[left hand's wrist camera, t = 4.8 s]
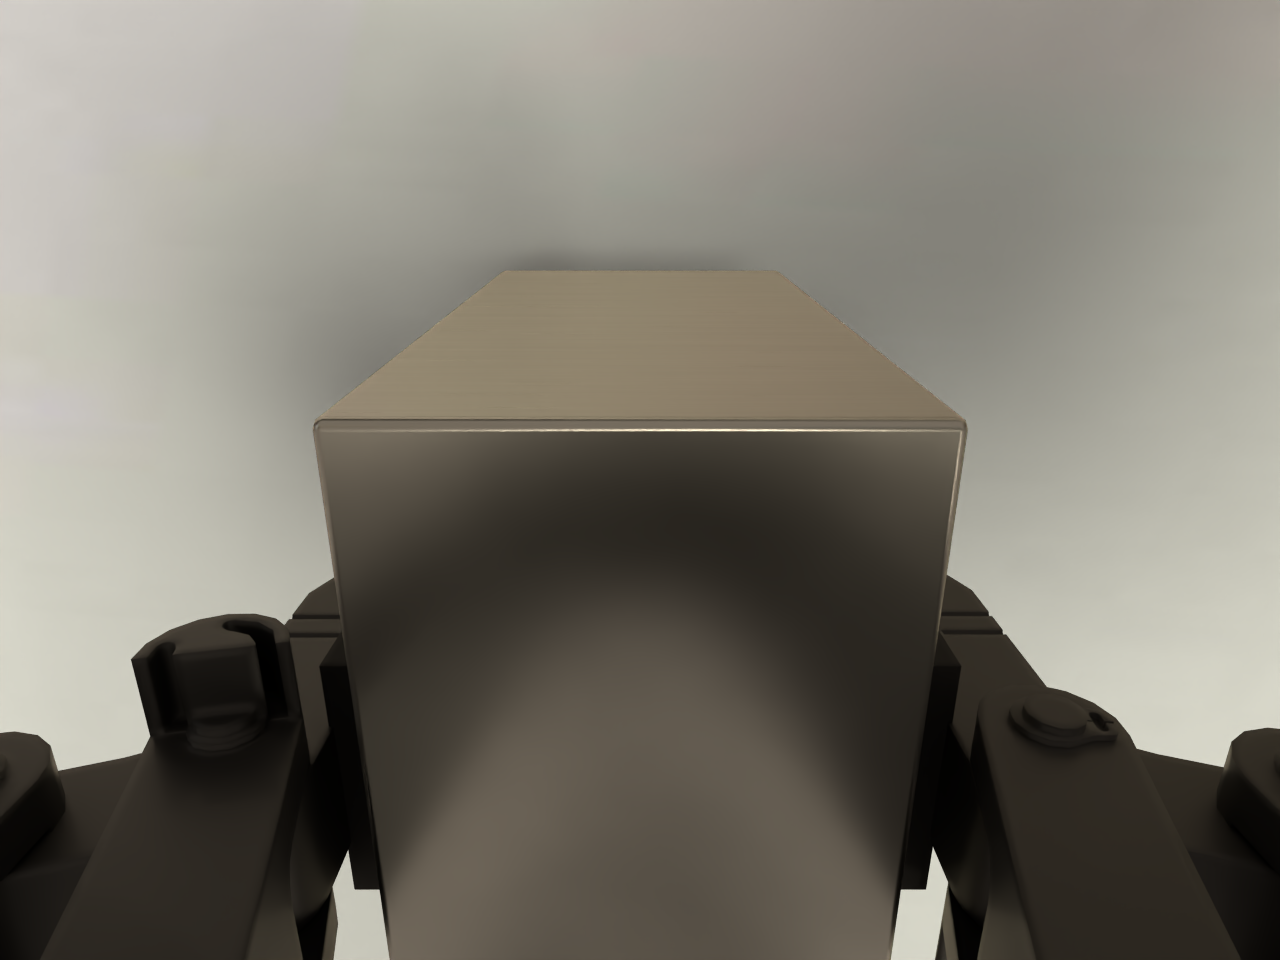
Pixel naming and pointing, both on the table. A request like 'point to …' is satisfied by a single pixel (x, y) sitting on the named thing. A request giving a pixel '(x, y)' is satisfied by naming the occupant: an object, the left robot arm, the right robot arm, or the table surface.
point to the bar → (640, 619)
